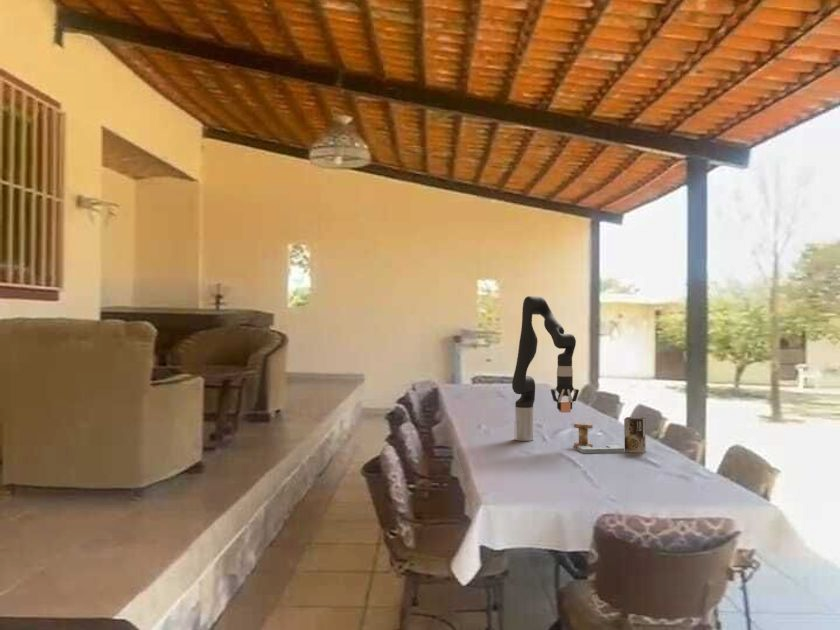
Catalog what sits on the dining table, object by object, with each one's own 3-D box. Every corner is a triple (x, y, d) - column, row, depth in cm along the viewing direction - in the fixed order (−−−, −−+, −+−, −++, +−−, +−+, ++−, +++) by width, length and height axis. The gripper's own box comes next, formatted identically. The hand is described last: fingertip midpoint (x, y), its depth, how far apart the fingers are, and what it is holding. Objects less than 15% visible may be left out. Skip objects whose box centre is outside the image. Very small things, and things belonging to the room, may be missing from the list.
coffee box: (646, 451, 417) (645, 417, 417) (643, 453, 412) (643, 419, 411) (626, 450, 421) (626, 416, 421) (624, 452, 415) (623, 418, 415)
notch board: (583, 453, 412) (583, 449, 412) (577, 450, 422) (577, 445, 422) (624, 452, 414) (624, 448, 414) (617, 449, 424) (617, 445, 424)
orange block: (561, 412, 422) (561, 402, 422) (558, 411, 427) (559, 401, 427) (570, 412, 423) (570, 402, 423) (568, 411, 427) (568, 401, 427)
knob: (576, 448, 427) (576, 425, 427) (571, 445, 436) (571, 423, 436) (594, 447, 428) (594, 425, 428) (589, 444, 437) (589, 422, 437)
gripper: (552, 375, 420) (552, 411, 420) (581, 375, 421) (581, 411, 422) (548, 374, 428) (548, 409, 428) (577, 374, 429) (576, 409, 429)
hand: (564, 410), depth 425 cm, fingers closed on orange block, 4 cm apart
